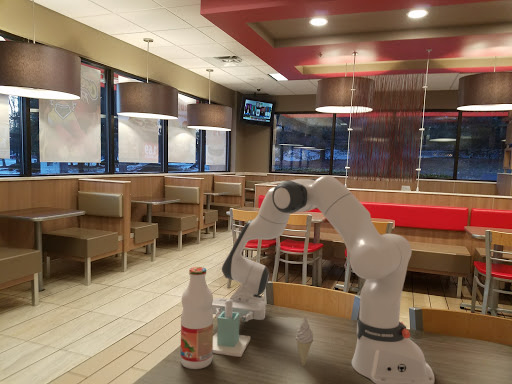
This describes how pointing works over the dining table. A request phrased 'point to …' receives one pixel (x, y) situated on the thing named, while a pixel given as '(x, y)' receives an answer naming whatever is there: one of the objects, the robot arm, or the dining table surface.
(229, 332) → the sleeve
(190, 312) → the fruit juice
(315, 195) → the robot arm
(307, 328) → the ice cream cone
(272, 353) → the dining table surface
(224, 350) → the post stand
